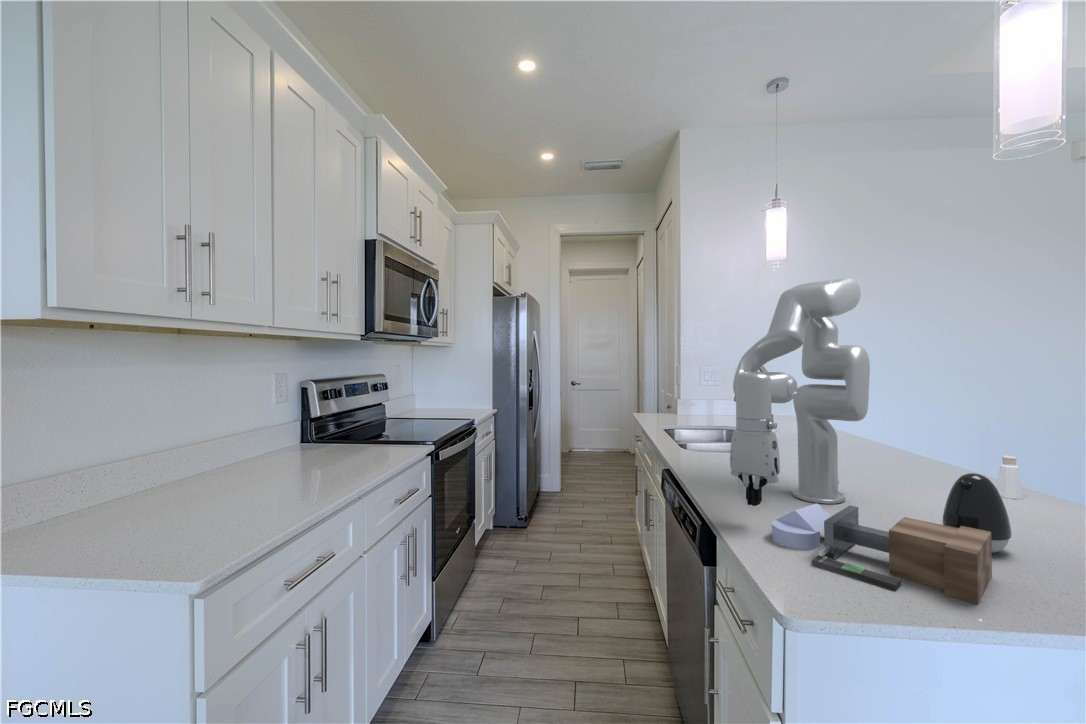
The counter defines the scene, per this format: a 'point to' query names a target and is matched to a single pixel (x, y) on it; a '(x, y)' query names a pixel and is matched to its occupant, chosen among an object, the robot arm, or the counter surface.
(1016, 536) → the counter surface
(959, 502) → the black egg-shaped piece
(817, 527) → the wedge on round base
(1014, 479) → the salt shaker
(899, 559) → the frame
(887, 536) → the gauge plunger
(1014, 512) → the counter surface
